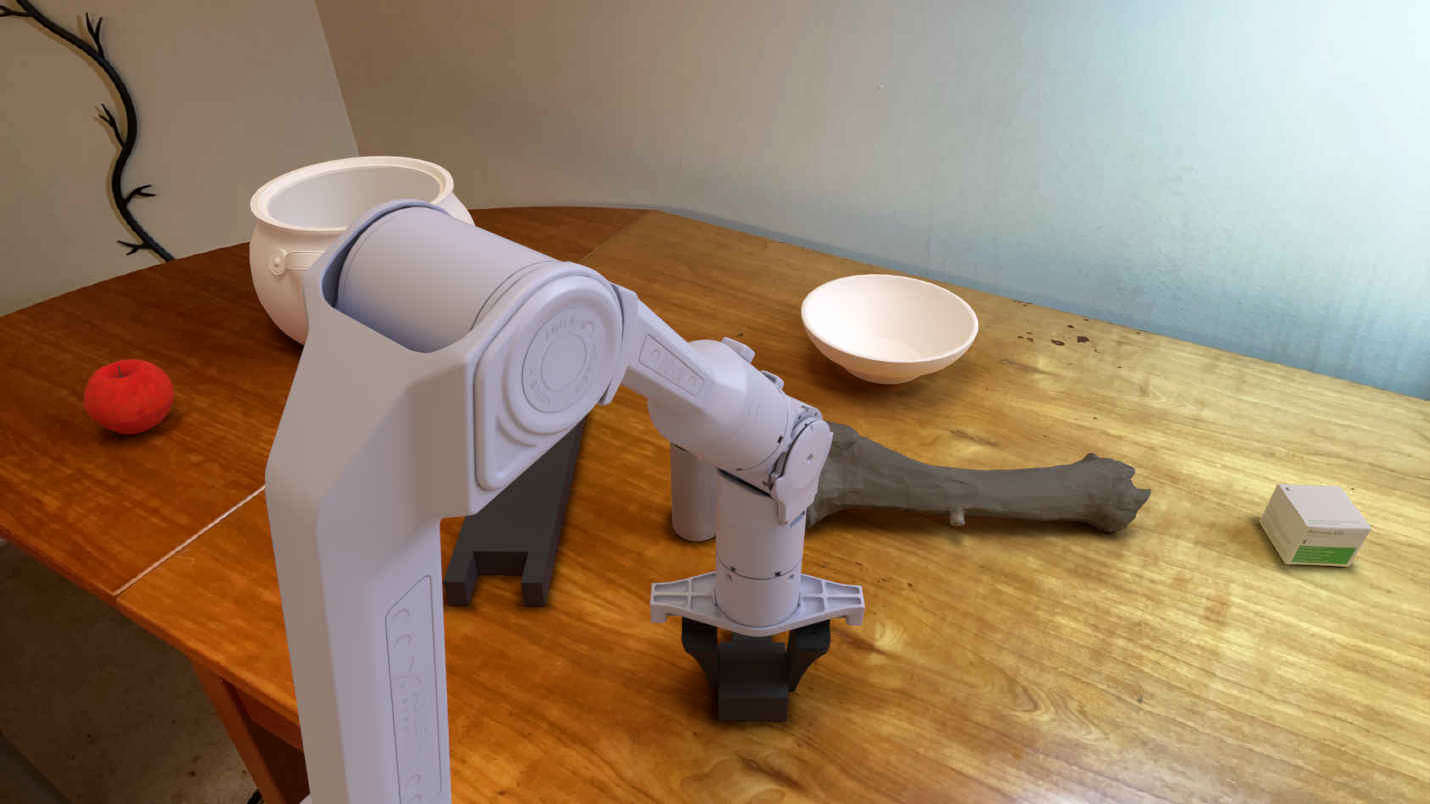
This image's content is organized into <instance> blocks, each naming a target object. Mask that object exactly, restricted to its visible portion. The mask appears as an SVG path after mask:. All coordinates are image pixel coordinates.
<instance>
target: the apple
mask: <svg viewBox="0 0 1430 804" xmlns="http://www.w3.org/2000/svg"><path fill="white" fill-rule="evenodd" d="M174 396H175V386H174V384H173V382H172V381H171V379H170V377H169V375H168V374H167V372H165V371H164V370H163V369H162V368H161V367H159V366H158V365H156V364H154V363H152V362H149V361H148V360H142V359H136V358H129V359H128V358H127V359H121V360H118V361H115V362H112V363H109V364H106V365H104V366H101V367H100V368H98V369H97V370H96V371H94V372H93V373H92V375H91V376H90V378H89V379H88V381H87V383H86V385H85V389H84V394H83V408H84V409H85V412H86V413H87V415H88V417H89V418H91V420H93V421H94V422H95V423H97V424H98V425H100V426H101V427H103V428H106V429H107V430H110V431H112V432H115V433H117V434H119V435H120V434H121V435H124V436H125V435H126V436H127V435H129V436H130V435H136V434H141V433H143V432H146V431H149V430H151V429H152V428H154V427H156V426H158V425H159V424H160V423H162V421H163V420H164V419H165V418H166V417H167V416H168V413H169V411H170V410H171V408H172V406H173V403H174Z"/></svg>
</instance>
